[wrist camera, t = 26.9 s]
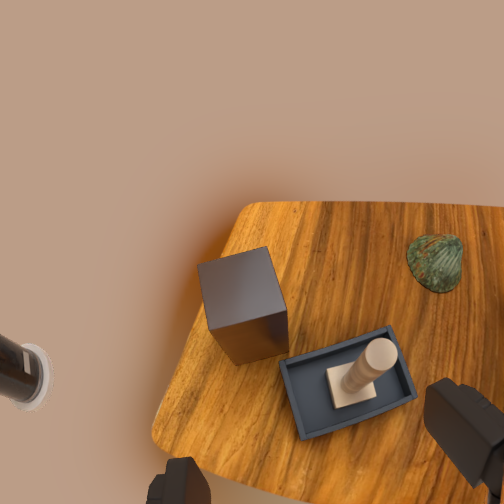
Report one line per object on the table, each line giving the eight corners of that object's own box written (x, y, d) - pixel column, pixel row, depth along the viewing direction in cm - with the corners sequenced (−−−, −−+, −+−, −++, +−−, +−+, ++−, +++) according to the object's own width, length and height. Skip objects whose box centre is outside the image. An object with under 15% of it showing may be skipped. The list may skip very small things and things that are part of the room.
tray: (300, 440, 32) (301, 441, 30) (279, 366, 38) (278, 361, 35) (409, 400, 33) (418, 397, 30) (384, 332, 38) (390, 324, 36)
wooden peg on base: (332, 410, 33) (360, 393, 20) (324, 373, 36) (343, 333, 23) (370, 399, 33) (418, 373, 20) (361, 363, 36) (399, 317, 23)
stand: (235, 365, 38) (208, 330, 27) (224, 317, 42) (196, 264, 31) (289, 351, 39) (287, 310, 27) (274, 303, 43) (266, 245, 31)
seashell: (403, 234, 41) (448, 212, 42) (395, 249, 45) (438, 226, 46) (441, 294, 36) (484, 264, 37) (429, 304, 40) (471, 276, 41)
